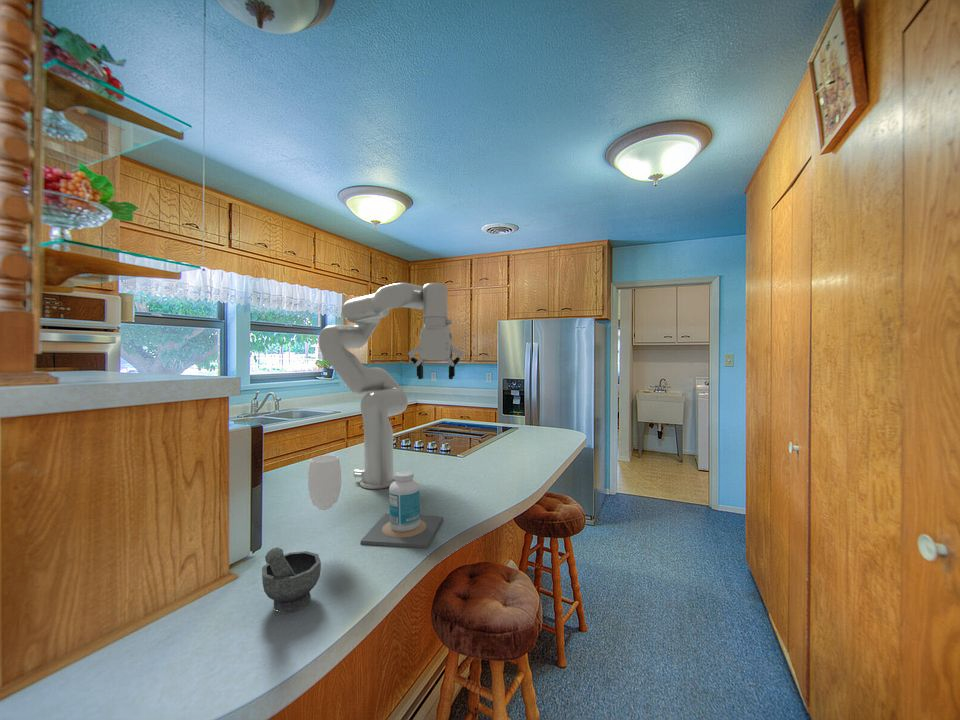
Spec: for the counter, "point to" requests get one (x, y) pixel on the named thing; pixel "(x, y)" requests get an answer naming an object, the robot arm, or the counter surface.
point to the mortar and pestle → (290, 578)
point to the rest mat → (403, 533)
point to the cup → (324, 481)
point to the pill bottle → (404, 502)
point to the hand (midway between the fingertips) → (435, 378)
